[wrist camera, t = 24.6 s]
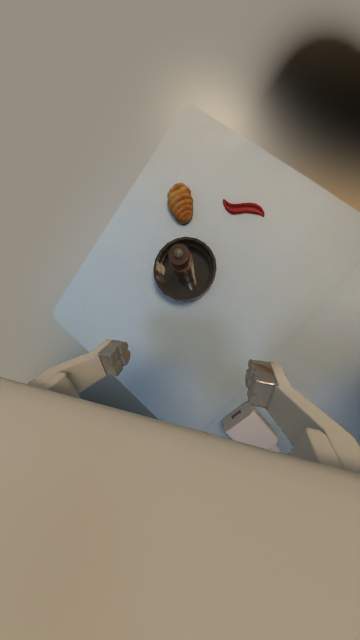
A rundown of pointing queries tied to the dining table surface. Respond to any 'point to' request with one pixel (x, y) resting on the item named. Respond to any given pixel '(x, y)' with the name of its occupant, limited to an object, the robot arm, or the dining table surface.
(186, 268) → the pepper mill
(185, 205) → the pastry
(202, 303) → the dining table surface
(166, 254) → the pan
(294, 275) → the dining table surface
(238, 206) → the cayenne pepper
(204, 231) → the dining table surface
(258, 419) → the charger
